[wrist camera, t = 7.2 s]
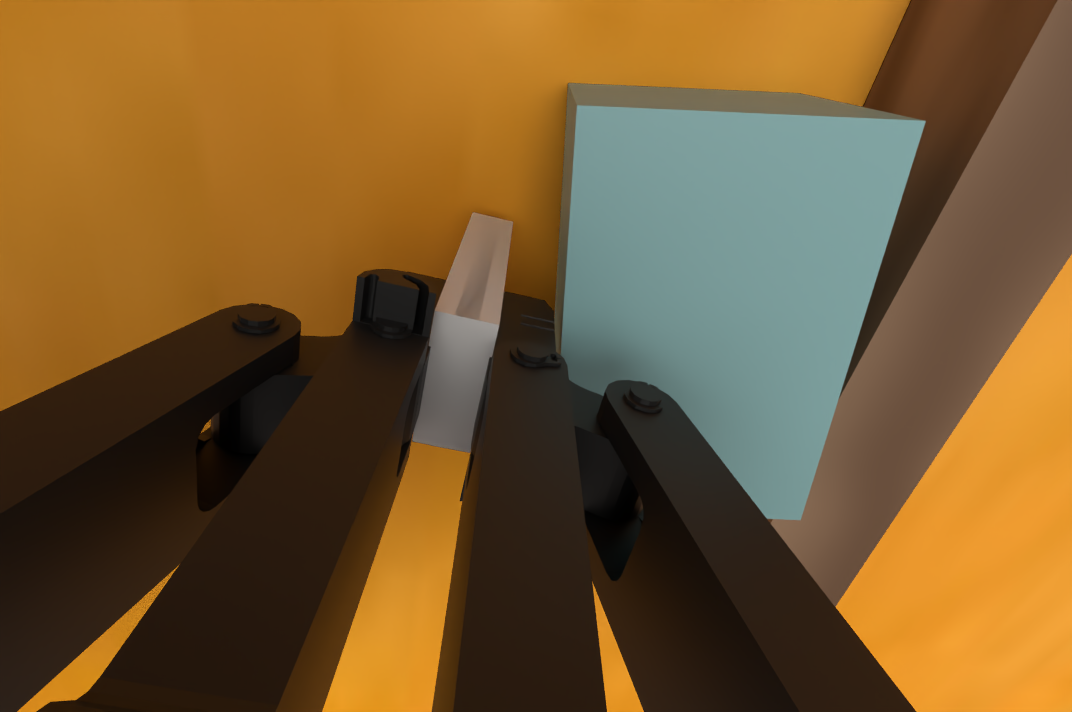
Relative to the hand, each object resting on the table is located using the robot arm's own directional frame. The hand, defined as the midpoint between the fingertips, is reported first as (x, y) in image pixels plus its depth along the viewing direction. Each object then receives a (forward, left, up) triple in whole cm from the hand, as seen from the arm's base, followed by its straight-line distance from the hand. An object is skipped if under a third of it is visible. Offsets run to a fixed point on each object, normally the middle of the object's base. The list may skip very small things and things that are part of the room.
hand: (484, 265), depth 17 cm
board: (+10, 0, -2) cm, 10 cm away
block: (+5, +1, -2) cm, 5 cm away
